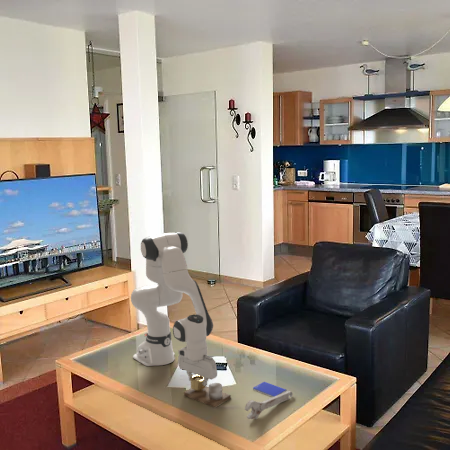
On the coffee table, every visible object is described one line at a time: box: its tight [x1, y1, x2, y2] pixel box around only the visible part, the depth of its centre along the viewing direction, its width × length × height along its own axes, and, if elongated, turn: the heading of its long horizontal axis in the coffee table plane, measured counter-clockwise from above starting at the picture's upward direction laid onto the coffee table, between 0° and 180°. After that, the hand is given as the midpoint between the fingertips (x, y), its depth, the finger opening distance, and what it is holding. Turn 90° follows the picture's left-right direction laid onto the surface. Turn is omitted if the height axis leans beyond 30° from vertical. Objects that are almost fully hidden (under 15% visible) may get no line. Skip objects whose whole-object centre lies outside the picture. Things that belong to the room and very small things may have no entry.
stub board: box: [183, 378, 232, 408], centre depth 232 cm, size 18×10×6 cm, turn 49°
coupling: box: [190, 374, 206, 390], centre depth 235 cm, size 6×6×4 cm
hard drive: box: [252, 381, 288, 398], centre depth 237 cm, size 2×8×12 cm
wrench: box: [244, 390, 294, 420], centre depth 220 cm, size 8×2×30 cm
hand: (198, 383), depth 235 cm, fingers closed on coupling, 6 cm apart
